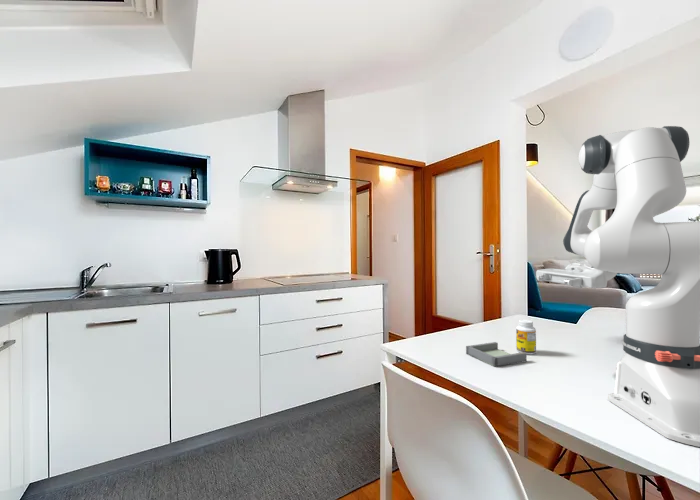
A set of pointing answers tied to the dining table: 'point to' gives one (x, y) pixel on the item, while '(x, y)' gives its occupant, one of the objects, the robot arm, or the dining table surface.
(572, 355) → the dining table surface
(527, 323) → the supplement bottle
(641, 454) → the dining table surface
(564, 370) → the dining table surface
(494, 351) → the tray
